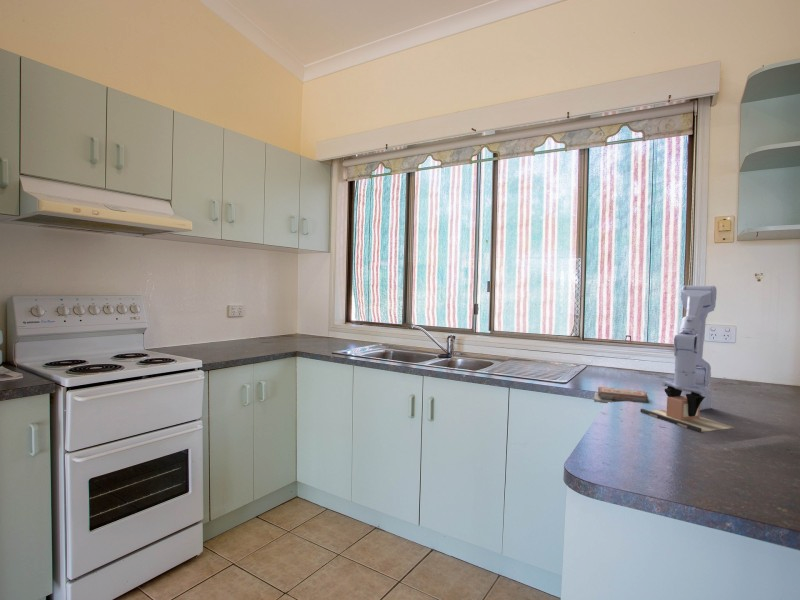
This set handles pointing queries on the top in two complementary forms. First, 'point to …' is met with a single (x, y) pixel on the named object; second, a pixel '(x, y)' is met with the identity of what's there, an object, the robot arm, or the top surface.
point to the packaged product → (619, 395)
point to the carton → (679, 408)
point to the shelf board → (688, 421)
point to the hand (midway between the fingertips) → (683, 413)
